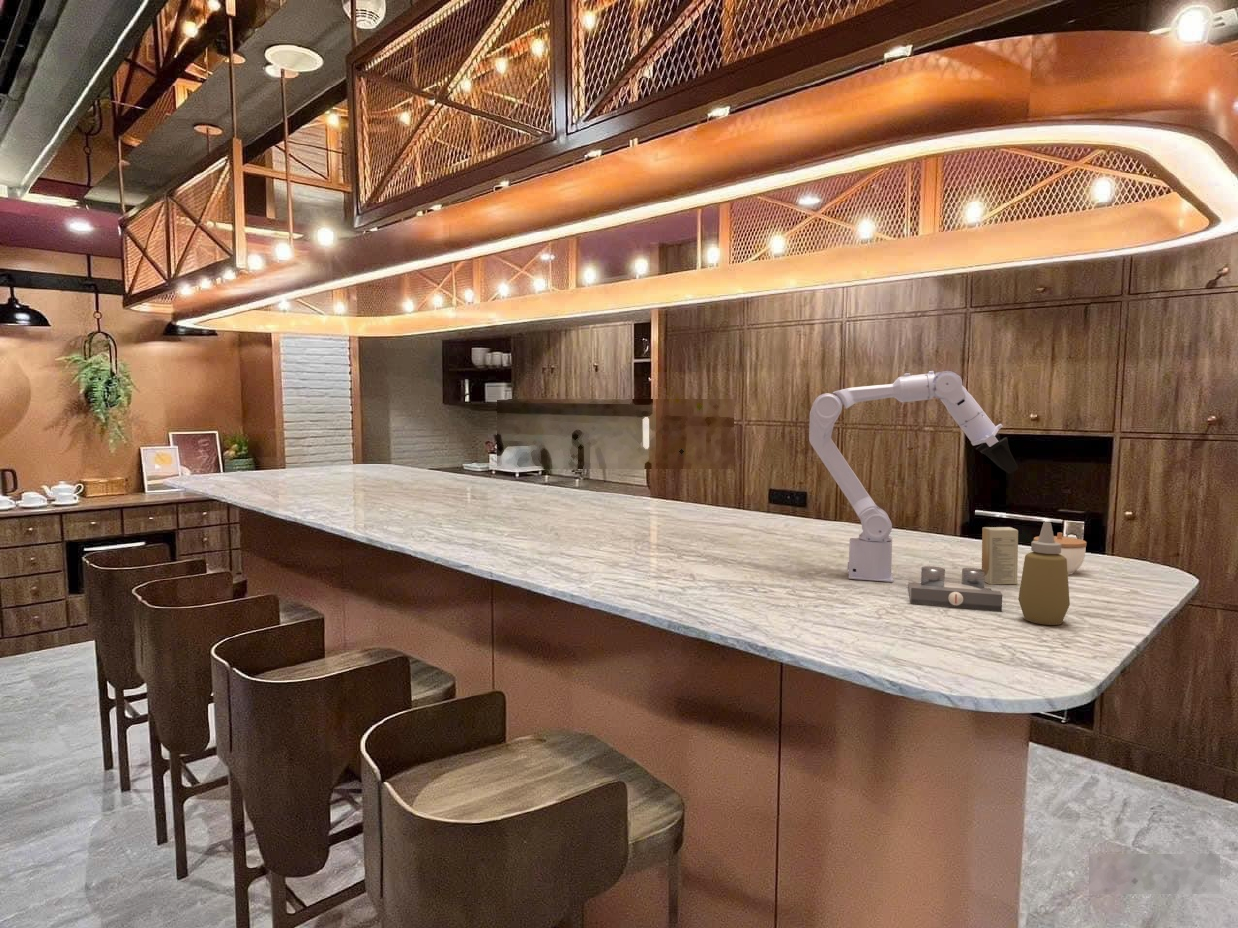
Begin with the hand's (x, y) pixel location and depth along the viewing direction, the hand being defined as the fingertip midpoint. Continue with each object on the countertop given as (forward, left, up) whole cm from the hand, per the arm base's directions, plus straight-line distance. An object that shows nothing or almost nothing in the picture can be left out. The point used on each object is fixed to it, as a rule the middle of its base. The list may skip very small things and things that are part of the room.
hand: (1010, 469), depth 155 cm
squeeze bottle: (+2, -27, -26) cm, 38 cm away
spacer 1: (-16, -14, -24) cm, 32 cm away
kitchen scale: (-12, -15, -26) cm, 32 cm away
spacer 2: (-7, -4, -26) cm, 27 cm away
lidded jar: (+14, +21, -26) cm, 36 cm away
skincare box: (-1, +4, -26) cm, 26 cm away
